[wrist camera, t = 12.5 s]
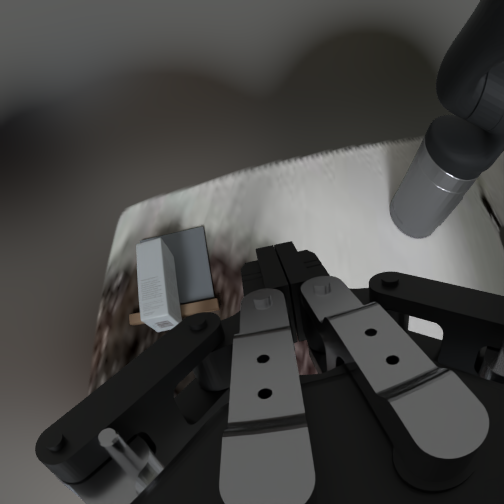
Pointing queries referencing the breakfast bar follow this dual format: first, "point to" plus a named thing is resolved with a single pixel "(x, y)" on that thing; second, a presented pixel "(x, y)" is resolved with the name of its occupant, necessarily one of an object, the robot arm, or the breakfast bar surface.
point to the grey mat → (190, 264)
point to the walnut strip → (185, 310)
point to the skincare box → (157, 285)
